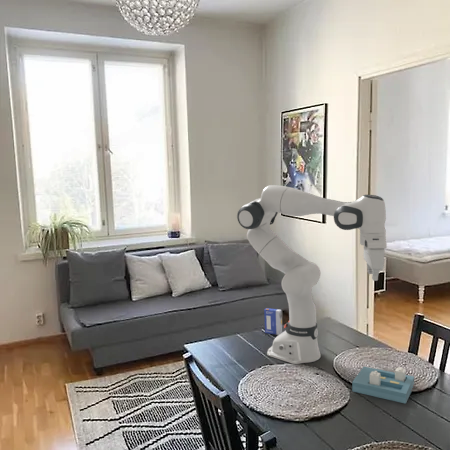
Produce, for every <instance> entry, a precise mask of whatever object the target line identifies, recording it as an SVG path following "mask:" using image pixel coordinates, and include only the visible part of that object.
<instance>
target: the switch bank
mask: <svg viewBox="0 0 450 450" xmlns="http://www.w3.org/2000/svg"><path fill="white" fill-rule="evenodd" d="M372 371H373V372H374V371H377V372H378V373H381V385H380V386H378V385H373V384H370V373H371V372H372ZM351 382H352V385H351V387H352V391H351V392H354V393H358V394H363V395H367V396H371V397H375V398H380V399H385V400H388V401H391V402H397V403H402V404H407V401H408V399H409V397H410V395H411V394H412V391H413V389H414V387H413V385H414V386H415V376H414V375H408V374H406V381H405V382H404V381H399V380H395V371H394V372H393V371H387V370H384V369H379V368H373V367H368V366H363V367H361V369H360V370H359V372H358V374H357V375H356V376H355V378H354V379H353V381H351ZM412 388H413V389H412ZM411 390H412V391H411Z"/></svg>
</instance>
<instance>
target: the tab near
mask: <svg viewBox="0 0 450 450" xmlns="http://www.w3.org/2000/svg"><path fill="white" fill-rule="evenodd" d="M370 384H373V385H378V386H380V385H381V373H378V372H377V371H374V372H373V371H372V372H371V373H370Z"/></svg>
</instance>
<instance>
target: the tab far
mask: <svg viewBox="0 0 450 450" xmlns="http://www.w3.org/2000/svg"><path fill="white" fill-rule="evenodd" d="M406 370H407V369H406V368H403V367H402V366H399V367H396V368H395V370H394V373H395V380H399V381H404V382H405V381H406V375H407V373H406Z"/></svg>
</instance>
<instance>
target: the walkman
mask: <svg viewBox="0 0 450 450" xmlns="http://www.w3.org/2000/svg"><path fill="white" fill-rule="evenodd" d="M263 312H264V333H265V334H270V335H277V336H278V335H279V334H281V333H282V332H283V319H282V316H283V315H282V313H283V312H282V309H278V308H270V307H269V308H268V307H266V308H264V311H263Z"/></svg>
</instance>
